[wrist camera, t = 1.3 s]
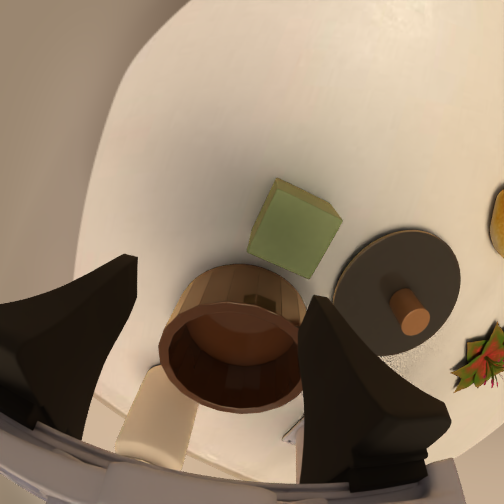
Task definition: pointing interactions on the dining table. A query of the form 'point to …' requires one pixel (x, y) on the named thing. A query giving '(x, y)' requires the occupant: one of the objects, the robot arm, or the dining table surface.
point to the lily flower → (483, 361)
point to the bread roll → (498, 224)
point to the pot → (235, 340)
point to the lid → (399, 290)
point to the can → (158, 423)
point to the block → (293, 229)
